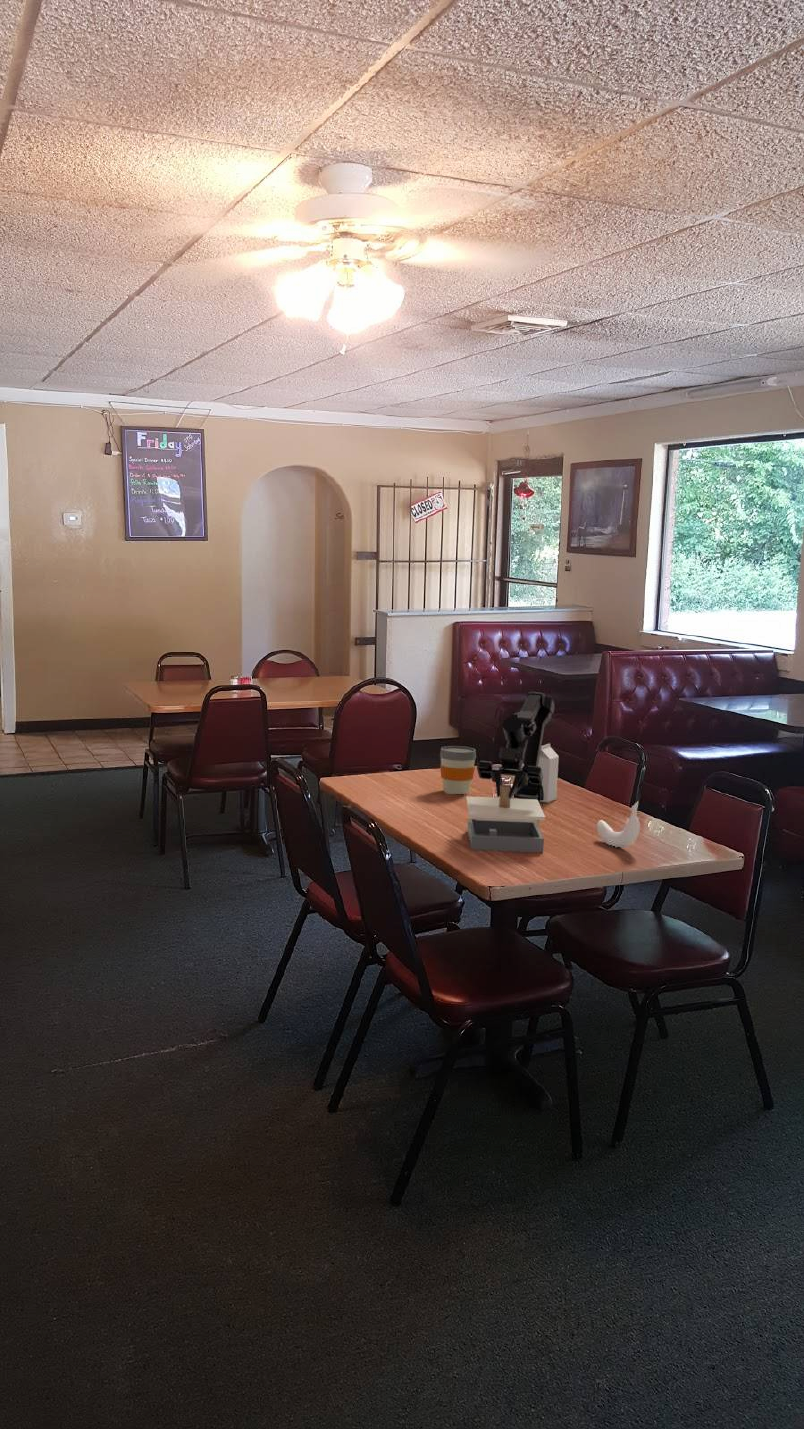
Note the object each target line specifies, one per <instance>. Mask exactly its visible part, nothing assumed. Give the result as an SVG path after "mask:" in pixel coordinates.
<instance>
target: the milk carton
mask: <svg viewBox="0 0 804 1429" xmlns="http://www.w3.org/2000/svg"><path fill="white" fill-rule="evenodd" d="M559 756H560V755H558V754H557V752H555V750H554V748H552V747H551V743H546V744H544V745H541V752H540V758H539V764H538V767H541V769H542V773H543V781H542V786H543V790H544V800H541V801H540V802H542V803H546V804H547V803H550V802H553V801H555V800H557V792H558V791H557V790H558V774H559V759H560V758H559ZM537 796H538V795H537Z"/></svg>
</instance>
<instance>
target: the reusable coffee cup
mask: <svg viewBox="0 0 804 1429" xmlns="http://www.w3.org/2000/svg"><path fill="white" fill-rule="evenodd" d="M439 758H440V764H439V766H440V767H439V768H440V769H439V770H440V778H441V779H442V790H443V791H444V792H443V793H445V794H448V795H453V794H464V795H468V794H470V790H471V783H472V781H473V779H474V774H475V768H476V766H475V762H476V759H477V752H476V749H475V748H472V747H469V746H461V745H460V746H459V745H449V746H442V747H441V748H440V753H439Z"/></svg>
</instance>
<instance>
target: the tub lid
mask: <svg viewBox="0 0 804 1429" xmlns="http://www.w3.org/2000/svg"><path fill="white" fill-rule="evenodd" d="M511 788H512V785H510V784H509V785H508V784H502V785H500V796H499V797H487V796H486V797H483V796H466V806H467V812H468V818H475V819H476V820H484V821H508V822H532V823H537V824H538V821H544V822H545V821H546V815H545V814H544V811H543V809H542V807H541V804H540V801H539V802H538V800H537V799H518V798H514V797H512V798H509V795H510V791H511Z"/></svg>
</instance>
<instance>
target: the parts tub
mask: <svg viewBox="0 0 804 1429" xmlns="http://www.w3.org/2000/svg"><path fill="white" fill-rule="evenodd" d="M467 835H468V840H470V841H469V845H470V849H471V850H472V851H490V850H500V851H499V852H515V851H518V853H519V851H520V853H521V852H522V853H540V852H543V853H544V843H545V842H544V841H545V838H544V836H543V834H542V831H541V830H540V828H539V825H538V822H537V823H532V822H508V821H484V820H476V819H475V818H473V817H468V818H467Z"/></svg>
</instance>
